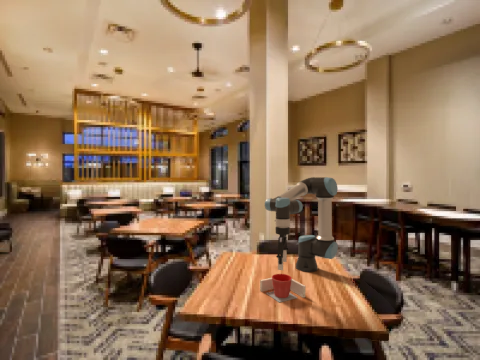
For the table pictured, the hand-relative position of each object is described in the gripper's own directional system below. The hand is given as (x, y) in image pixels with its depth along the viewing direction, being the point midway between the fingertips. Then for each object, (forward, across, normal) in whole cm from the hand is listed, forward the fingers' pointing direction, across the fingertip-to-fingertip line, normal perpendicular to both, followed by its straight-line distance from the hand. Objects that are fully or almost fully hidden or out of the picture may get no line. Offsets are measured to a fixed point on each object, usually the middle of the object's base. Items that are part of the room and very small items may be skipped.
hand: (282, 265), depth 142 cm
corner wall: (+16, -2, 0) cm, 16 cm away
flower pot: (+16, +1, 0) cm, 16 cm away
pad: (+16, +1, 0) cm, 16 cm away
